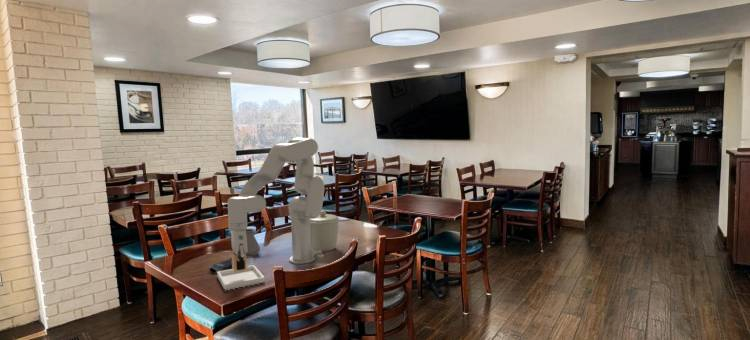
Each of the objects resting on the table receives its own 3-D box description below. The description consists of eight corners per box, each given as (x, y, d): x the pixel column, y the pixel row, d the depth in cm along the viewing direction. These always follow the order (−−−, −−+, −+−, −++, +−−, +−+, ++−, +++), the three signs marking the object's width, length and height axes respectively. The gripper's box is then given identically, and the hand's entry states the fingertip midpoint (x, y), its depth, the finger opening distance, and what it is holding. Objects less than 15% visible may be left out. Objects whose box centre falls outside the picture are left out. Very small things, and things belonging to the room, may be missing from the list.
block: (244, 266, 176) (243, 250, 175) (246, 269, 172) (246, 253, 171) (232, 268, 174) (231, 252, 173) (234, 272, 169) (233, 255, 169)
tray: (254, 270, 185) (254, 265, 185) (265, 282, 170) (264, 277, 169) (217, 277, 177) (217, 271, 177) (225, 291, 162) (224, 285, 161)
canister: (317, 256, 204) (316, 215, 202) (300, 248, 218) (299, 210, 216) (347, 249, 215) (346, 210, 213) (328, 242, 229) (327, 205, 227)
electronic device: (229, 265, 198) (204, 271, 184) (231, 254, 197) (206, 259, 184) (243, 270, 194) (219, 276, 180) (245, 259, 194) (221, 264, 180)
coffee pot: (246, 259, 200) (244, 230, 199) (232, 255, 207) (231, 227, 206) (279, 249, 217) (278, 221, 216) (266, 245, 224) (265, 219, 223)
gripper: (251, 228, 166) (253, 271, 167) (242, 221, 180) (243, 260, 182) (232, 231, 162) (234, 275, 163) (224, 223, 176) (226, 263, 178)
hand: (239, 267), depth 173 cm, fingers closed on block, 5 cm apart
